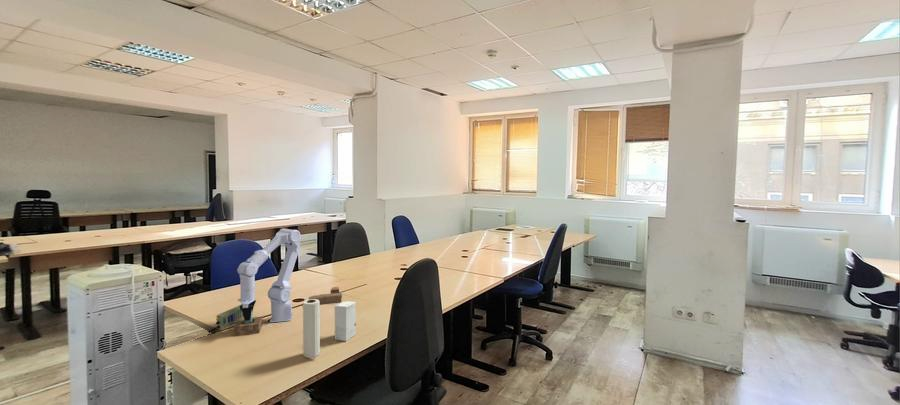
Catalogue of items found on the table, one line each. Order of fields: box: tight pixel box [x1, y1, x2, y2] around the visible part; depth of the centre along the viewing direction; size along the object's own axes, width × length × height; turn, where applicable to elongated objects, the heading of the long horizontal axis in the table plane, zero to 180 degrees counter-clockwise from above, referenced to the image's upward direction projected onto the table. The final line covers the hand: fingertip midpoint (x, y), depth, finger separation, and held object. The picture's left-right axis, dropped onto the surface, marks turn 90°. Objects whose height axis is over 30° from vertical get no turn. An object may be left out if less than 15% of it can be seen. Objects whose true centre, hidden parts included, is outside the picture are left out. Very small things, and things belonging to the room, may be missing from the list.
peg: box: [244, 313, 253, 324], centre depth 175 cm, size 3×3×9 cm
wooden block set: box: [308, 286, 343, 305], centre depth 221 cm, size 17×6×18 cm
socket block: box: [233, 316, 263, 337], centre depth 175 cm, size 10×10×4 cm
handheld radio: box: [207, 303, 244, 334], centre depth 183 cm, size 7×3×25 cm
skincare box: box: [334, 300, 357, 342], centre depth 169 cm, size 8×6×15 cm
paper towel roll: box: [302, 298, 321, 360], centre depth 151 cm, size 7×6×21 cm
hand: (248, 318), depth 175 cm, fingers closed on peg, 3 cm apart
